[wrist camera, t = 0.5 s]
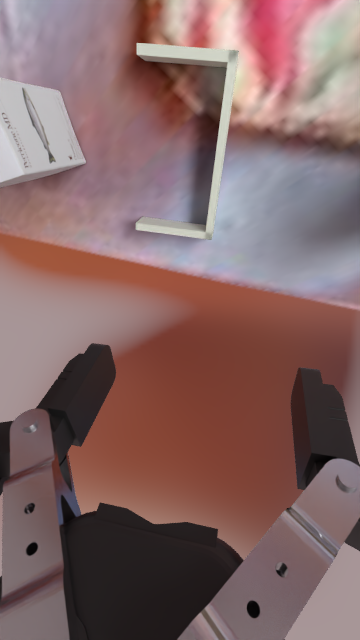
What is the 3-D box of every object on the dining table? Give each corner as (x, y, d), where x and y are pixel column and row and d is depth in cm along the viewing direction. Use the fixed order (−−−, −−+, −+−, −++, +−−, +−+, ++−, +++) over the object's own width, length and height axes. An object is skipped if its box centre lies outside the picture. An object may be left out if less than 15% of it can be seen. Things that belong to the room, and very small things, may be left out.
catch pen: (142, 223, 39) (135, 229, 36) (145, 50, 30) (136, 42, 27) (213, 232, 38) (211, 239, 35) (238, 57, 29) (238, 50, 26)
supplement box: (88, 163, 36) (26, 178, 25) (36, 179, 38) (-42, 199, 27) (61, 88, 32) (-25, 68, 22) (5, 109, 34) (-99, 101, 24)
